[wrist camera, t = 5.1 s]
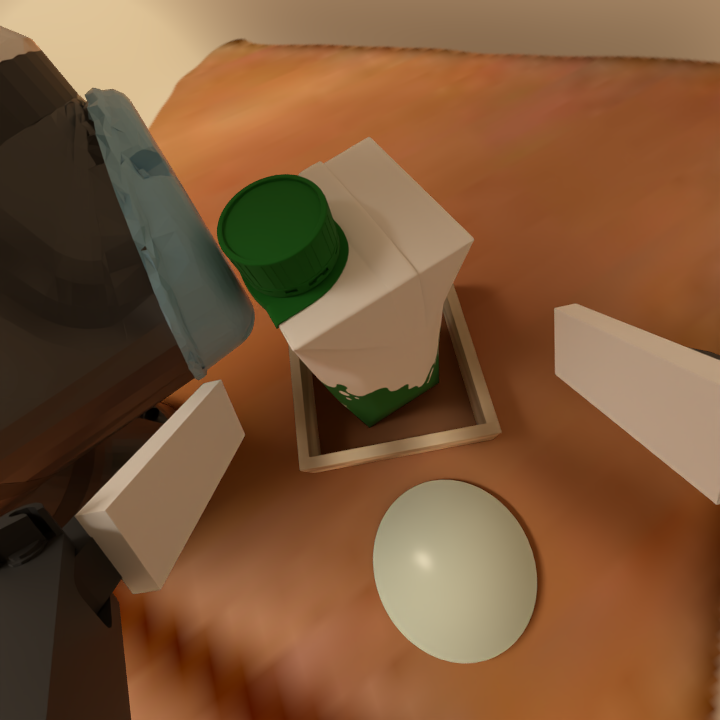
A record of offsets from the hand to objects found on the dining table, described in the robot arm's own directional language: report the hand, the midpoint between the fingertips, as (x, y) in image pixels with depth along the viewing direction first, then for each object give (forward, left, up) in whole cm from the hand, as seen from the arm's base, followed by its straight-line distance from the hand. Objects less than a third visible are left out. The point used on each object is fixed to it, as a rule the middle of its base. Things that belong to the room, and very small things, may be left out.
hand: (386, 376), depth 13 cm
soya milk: (-1, +6, -16) cm, 17 cm away
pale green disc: (+1, -9, -16) cm, 18 cm away
